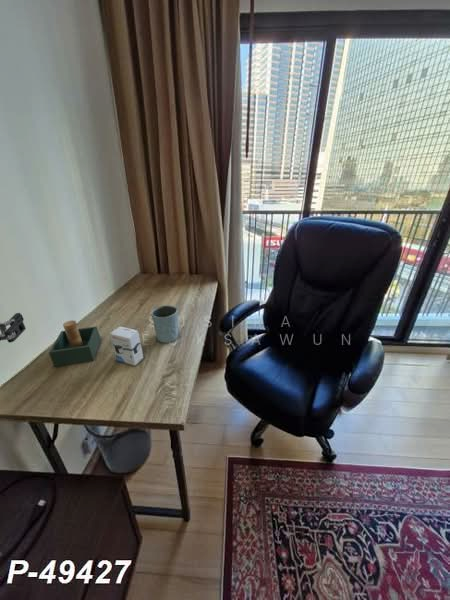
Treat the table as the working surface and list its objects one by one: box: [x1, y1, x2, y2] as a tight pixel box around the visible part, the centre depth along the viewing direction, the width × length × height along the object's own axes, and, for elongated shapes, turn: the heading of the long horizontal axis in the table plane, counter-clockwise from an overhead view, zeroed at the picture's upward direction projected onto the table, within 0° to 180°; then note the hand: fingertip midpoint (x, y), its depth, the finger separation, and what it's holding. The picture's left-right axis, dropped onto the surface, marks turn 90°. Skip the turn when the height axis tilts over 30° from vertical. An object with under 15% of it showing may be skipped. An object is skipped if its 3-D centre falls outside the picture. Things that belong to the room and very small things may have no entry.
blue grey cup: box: [150, 305, 179, 344], centre depth 101 cm, size 10×10×12 cm
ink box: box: [109, 326, 144, 367], centre depth 88 cm, size 8×5×12 cm, turn 68°
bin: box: [48, 326, 101, 368], centre depth 93 cm, size 13×14×6 cm
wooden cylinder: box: [62, 319, 84, 348], centre depth 92 cm, size 4×4×12 cm
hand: (0, 318), depth 62 cm, fingers open, 8 cm apart
